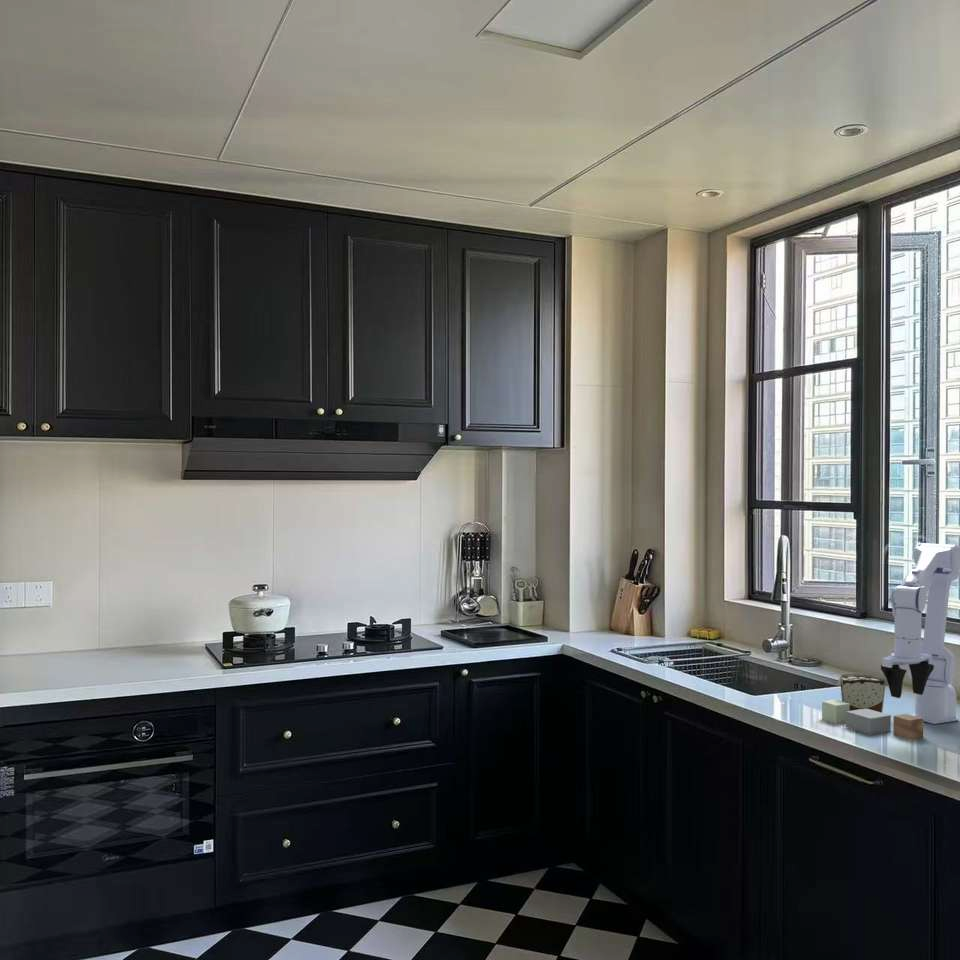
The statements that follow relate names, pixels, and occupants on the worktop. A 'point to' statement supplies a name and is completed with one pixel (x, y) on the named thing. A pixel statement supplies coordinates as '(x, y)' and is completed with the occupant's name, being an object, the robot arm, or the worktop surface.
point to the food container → (863, 690)
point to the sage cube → (835, 710)
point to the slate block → (868, 721)
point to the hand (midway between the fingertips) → (907, 695)
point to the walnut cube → (908, 726)
